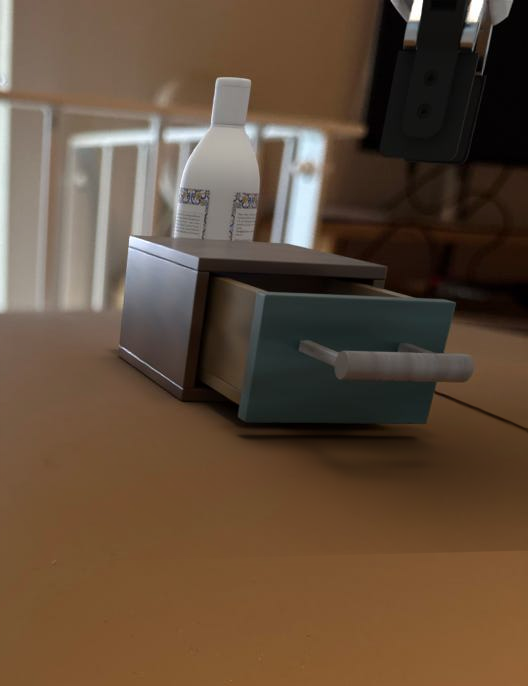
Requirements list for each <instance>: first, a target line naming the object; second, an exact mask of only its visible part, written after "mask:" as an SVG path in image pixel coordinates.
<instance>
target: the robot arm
mask: <svg viewBox="0 0 528 686" xmlns="http://www.w3.org/2000/svg"><path fill="white" fill-rule="evenodd" d="M390 2H391V3H392V5H393V6H394V8H395V9H396V10H397V12H398V13H399V15H400V16H401V17H402V18H403V19H404V21H405V22H406V27H405V31H404V32H405V33H404V37H403V38H404V39H403V50H398V52H397V57H396V61H395V66H394V72H393V77H392V81H391V87H390V93H389V96H388V102H387V108H386V112H385V118H384V122H383V127H382V133H381V137H380V142H379V153H380V154H381V156H382V157H384V158H390V159H403V160H404V161H406V162H411V163H424V164H425V163H427V164H436V165H437V164H438V165H439V164H440V165H452V166H453V165H454V166H460V165H462V164H464V163H466V161H467V160H468V157H469V153H470V148H471V144H472V140H473V136H474V131H475V127H476V123H477V118H478V114H479V110H480V107H481V101H482V97H483V92H484V89H485V85H486V80H487V75H486V74H483V73H484V70H485V66H486V62H487V57H488V52H489V48H490V43H491V37H492V33H493V26H497V25H498V24H499V23H501V22H503V21H504V20H505V19H506V18H508V17H509V14H510V11H511V8H512V5H513V3H514V0H390Z"/></svg>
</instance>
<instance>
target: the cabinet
mask: <svg viewBox="0 0 528 686" xmlns="http://www.w3.org/2000/svg"><path fill="white" fill-rule="evenodd" d="M209 272H225V273H246V274H268V275H290V276H311V277H333V278H344V279H348V280H351V281H355V282H359V283H363V284H366V285H370V286H374V287H377V288H381V289H384V288H385V282H386V281H385V280H386V278H387V273H388V266H386V265H382V264H378V263H374V262H370V261H365V260H361V259H356V258H353V257H347V256H343V255H340V254H335V253H330V252H327V251H321V250H317V249H313V248H308V247H305V246H300V245H296V244H291V243H287V242H267V241H266V242H265V241H252V242H250V241H231V240H213V239H194V238H176V237H174V236H156V235H155V236H154V235H137V234H130V235H129V240H128V248H127V260H126V270H125V281H124V291H123V301H122V313H121V323H120V331H119V333H120V334H119V346H118V352H117V353H118V356H119V357H120V358H121V359H123V360H124V361H126V362H127V363H128V364H130V365H131V367H134V368H135V369H136V370H138V371H139V372H140V373H142V374H144V375H145V376H146V377H148V378H149V379H150V380H152V381H153V382H154V383H156V384H157V385H159V386H160V387H161V388H163V389H164V390H166V391H167V392H169V393H170V394H171V395H172V396H174V397H175V398H177V399H178V400H179V401H181V402H217V403H219V402H220V403H221V402H224V403H227V402H228V403H234V402H233V401H232V400H230V399H229V398H227V397H226V396H224V395H222V394H221V393H219V392H218V391H216V390H215V389H213V388H211V387H210V386H208V385H207V384H205V383H204V382H202V381H200V380H199V379H197V378H196V371H197V363H198V356H199V348H200V340H201V333H202V325H203V318H204V310H205V303H206V295H207V288H208V280H209Z"/></svg>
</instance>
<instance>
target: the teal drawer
mask: <svg viewBox="0 0 528 686" xmlns="http://www.w3.org/2000/svg"><path fill="white" fill-rule="evenodd" d="M456 305H457V303H456V302H455V301H452V300H448V299H446V298H424V297H423V298H422V297H418V298H417V297H413V296H409V295H407V294H402V293H398V292H395V291H391V290H388V289H384V288H383V289H381V288H377V287H374V286H370V285H366V284H363V283H359V282H355V281H351V280H348V279H344V278H333V277H311V276H290V275H268V274H246V273H225V272H209V280H208V288H207V295H206V303H205V310H204V318H203V325H202V333H201V340H200V348H199V356H198V363H197V371H196V378H197V379H199V380H200V381H202V382H204V383H205V384H207V385H208V386H210V387H211V388H213V389H215V390H216V391H218V392H219V393H221V394H222V395H224V396H226V397H227V398H229V399H230V400H232V401H233V402H232V403H235V404H237V405H238V412H237V419H238V418H239V419H240V420H241V421H243V422H244V423H257V424H258V423H260V424H261V423H263V424H264V423H265V424H266V423H267V424H268V423H269V424H276V423H277V424H357V425H358V424H363V425H364V424H368V425H369V424H370V425H371V424H372V425H374V424H375V425H384V424H385V425H426V424H427V422H428V420H429V419H428V418H429V415H430V411H431V407H432V402H433V398H434V395H435V390H436V386H437V383H466V382H468V381H469V380H470V379H471V377H472V375H473V373H474V369H475V368H474V367H475V363H474V358H473V357H472V356H471V355H470V354H468V353H445V350H446V345H447V341H448V337H449V333H450V329H451V325H452V321H453V317H454V314H455V310H456V309H455V308H456Z"/></svg>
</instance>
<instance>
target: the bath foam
mask: <svg viewBox="0 0 528 686" xmlns="http://www.w3.org/2000/svg"><path fill="white" fill-rule="evenodd" d="M251 88H252V80H251V79H248V78H241V77H228V76H227V77H226V76H224V77H222V76H221V77H217V78H216V80H215V87H214V95H213V102H212V111H211V119H210V127H209V128H208V130H207V131H206V132H205V133H204V134H203V136H202V137H201V139H200V140H199V142H198V143H197V144H196V146H195V148H194V149H193V151H192V152H191V154H190V155H189V157H188V159H187V161H186V164H185V166H184V169H183V172H182V176H181V180H180V183H179V184H180V185H179V190H178V199H177V207H176V216H175V225H174V233H173V237H176V238H194V239H213V240H231V241H250V242H253V240H254V239H253V238H254V231H255V225H256V218H257V211H258V206H259V205H258V204H259V199H260V198H259V197H260V187H261V186H260V185H261V179H260V176H261V175H260V169H259V168H260V167H259V163H258V159H257V157H256V154H255V150H254V148H253V146H252V143H251V140H250V138H249V136H248V134H247V131H246V127H245V126H246V122H247V118H248V117H247V116H248V110H249V104H250V103H249V102H250V95H251Z"/></svg>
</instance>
